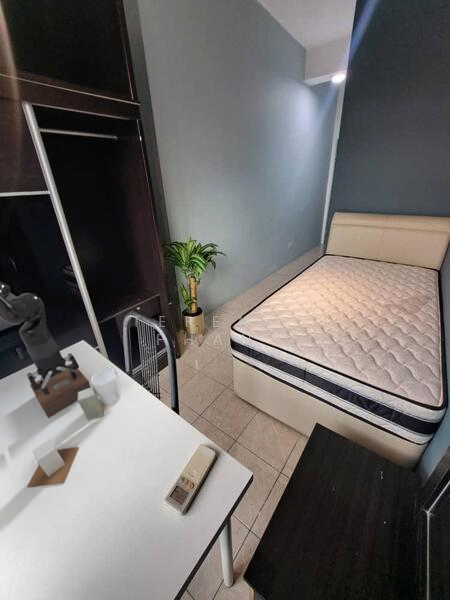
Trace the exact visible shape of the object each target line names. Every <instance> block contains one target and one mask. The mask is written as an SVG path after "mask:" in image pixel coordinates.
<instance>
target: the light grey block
mask: <svg viewBox="0 0 450 600" xmlns="http://www.w3.org/2000/svg"><path fill="white" fill-rule="evenodd" d="M32 453H33V455H34V457H35V460H36V462H37V463H38V465H40V466H41V467H42V469H43V470H44V472H45V473H46V474H47V476H48V477H49V476H51V475H52V474H53V473H55V472H56V471H57V470H59V469H60V468H61V467H63V466H64V465H65V463H64V461H63V459H62V457H61V455H60V453H59V452H58V449H57V447H56V445H55V443H54V442H53V441H52V439H50V438H49V439H48V440H46V441H45V442H43V443H42V444H40V445H39V446H37V447H36V448H34V449H32Z"/></svg>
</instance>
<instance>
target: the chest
mask: <svg viewBox="0 0 450 600" xmlns="http://www.w3.org/2000/svg"><path fill="white" fill-rule="evenodd" d="M91 387H92V385H91V384H90V382H89V383H88V384H86V385H85V386H83V387H81V388H80V389H78V390H76V391H75V392H73V393H71V394H70V395H68V396H66V397H64V398H63V399H61V400H59V401H58V402H56V403H54V404H53V405H51V406H49V407H48V408H46V409H44V410H43V412H44V413H45V415H46V417H47V418H48V419H50V418H51V417H53V416H55V415H56V414H58V413H60V412H61V411H63V410H65V409H66V408H68V407H69V406H71V405H72V404H74V403H75V402H78V401H77V399H78V392H80V391H83V390H85V389H88V388H91Z"/></svg>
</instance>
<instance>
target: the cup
mask: <svg viewBox="0 0 450 600" xmlns="http://www.w3.org/2000/svg"><path fill="white" fill-rule="evenodd" d="M90 378H91V379H90V383H91V387H93V388H94V390H95V392H96V394H97V396H98V398H99V400H100V401H101V403H103V405H105V406H112V405H117V404H118V403H119V401H120V400H121V398H122V395H123V394H122V387H121V380H120V375H119V373H118V371H117V370H116V368H114V367H103V368H101V369H99V370H97V371H96V372H94V374H93V375H92V376H91V377H90Z"/></svg>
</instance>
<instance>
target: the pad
mask: <svg viewBox="0 0 450 600" xmlns="http://www.w3.org/2000/svg"><path fill="white" fill-rule="evenodd" d="M79 449H80V447H79V446H75V447H66V448H58V449H57V450H58V452H59V453H60V455H61V457H62V459H63V461H64V463H65V465H64V466H63V467H61V468H60V469H59V470H57V471H56V472H55V473H53V474H52V475H51V476H49V477H48V476H47V474H46V473H45V472H44V470H43V469H42V467H41V466H40V465H39V464H38V465H37V467H36V469H35V470H34V473H33V475H32V477H31V478H30V480H29V482H28V484H27V486H26V488H35V487H42V486H49V485H57V484H65V482H66V479H67V477H68V475H69V472H70V470H71V469H72V465H73V463H74V461H75V458H76V456H77V454H78V451H79Z"/></svg>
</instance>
